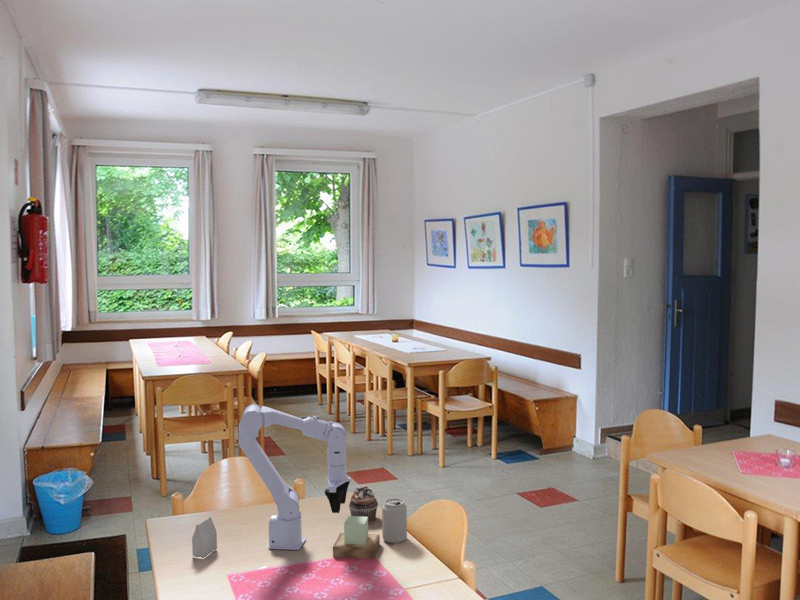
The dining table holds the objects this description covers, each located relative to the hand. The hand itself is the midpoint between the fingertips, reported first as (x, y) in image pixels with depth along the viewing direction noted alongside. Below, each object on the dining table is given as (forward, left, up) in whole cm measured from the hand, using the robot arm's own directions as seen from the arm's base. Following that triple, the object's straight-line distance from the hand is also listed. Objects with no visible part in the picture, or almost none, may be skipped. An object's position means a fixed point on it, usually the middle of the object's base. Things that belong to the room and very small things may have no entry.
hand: (338, 507), depth 214 cm
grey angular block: (-37, -13, -11) cm, 41 cm away
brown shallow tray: (+7, -6, -10) cm, 14 cm away
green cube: (+7, -6, -7) cm, 12 cm away
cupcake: (+4, +19, -11) cm, 22 cm away
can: (+17, +3, -11) cm, 20 cm away
